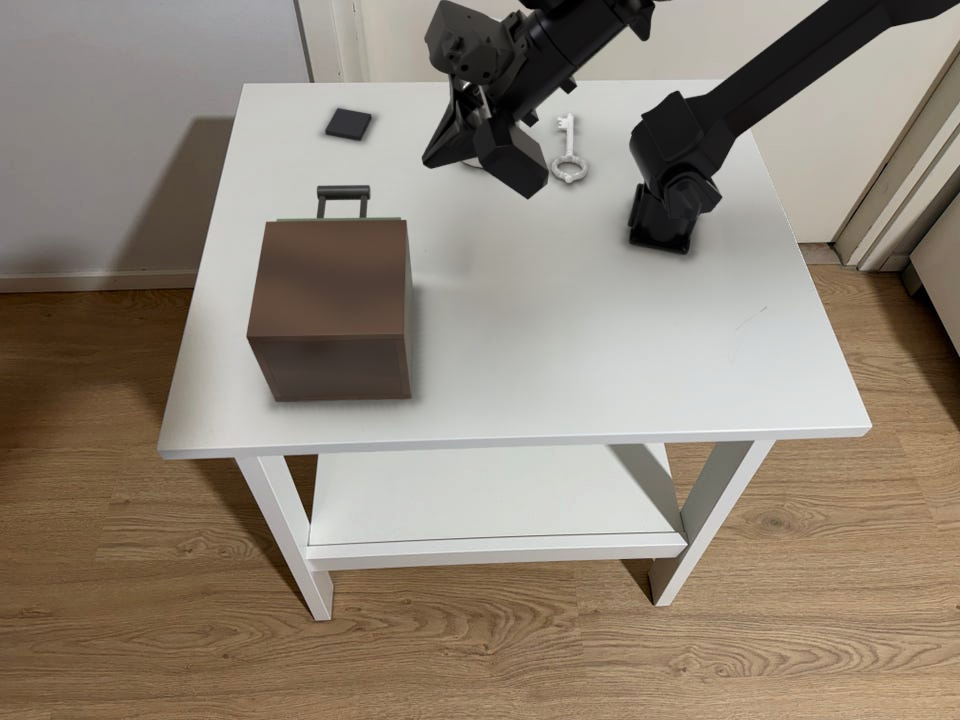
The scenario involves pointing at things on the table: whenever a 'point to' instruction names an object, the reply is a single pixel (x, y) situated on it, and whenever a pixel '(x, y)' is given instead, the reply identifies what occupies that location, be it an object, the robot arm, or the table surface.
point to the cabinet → (334, 310)
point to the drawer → (342, 194)
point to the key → (569, 152)
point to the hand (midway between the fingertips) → (425, 164)
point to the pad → (348, 124)
